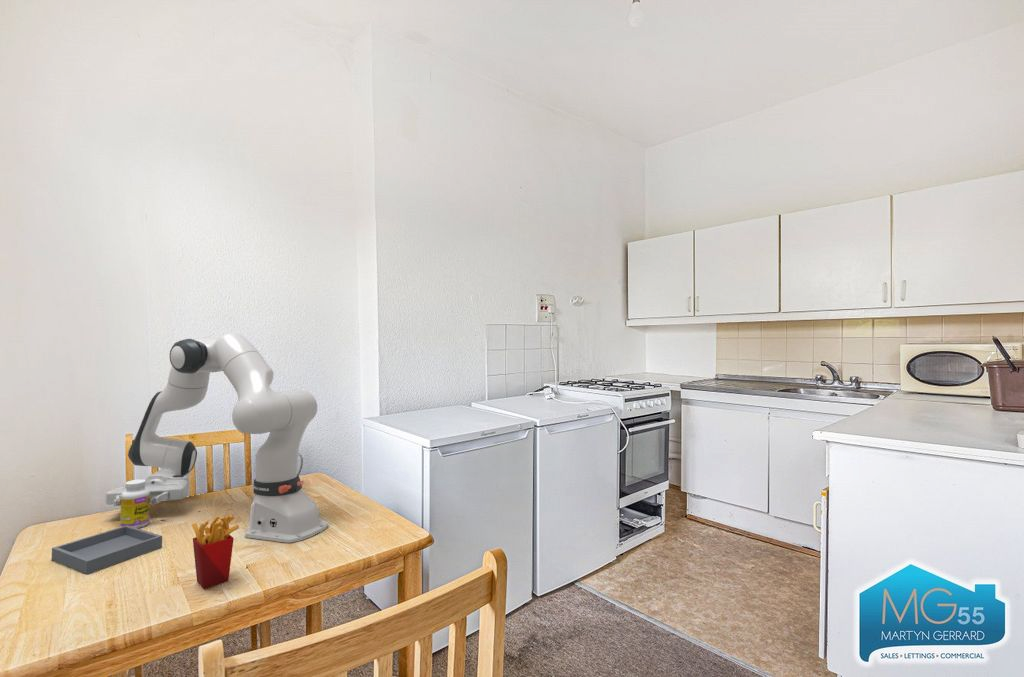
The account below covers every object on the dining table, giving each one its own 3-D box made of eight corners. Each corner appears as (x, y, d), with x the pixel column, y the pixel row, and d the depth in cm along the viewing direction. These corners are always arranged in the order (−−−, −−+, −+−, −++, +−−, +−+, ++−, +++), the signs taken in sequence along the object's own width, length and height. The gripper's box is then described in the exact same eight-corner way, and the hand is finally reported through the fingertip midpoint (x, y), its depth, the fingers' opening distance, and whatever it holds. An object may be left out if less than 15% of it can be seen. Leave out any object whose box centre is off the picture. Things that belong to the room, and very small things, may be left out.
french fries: (190, 581, 107) (191, 515, 107) (231, 569, 113) (232, 505, 113) (203, 596, 101) (203, 525, 101) (245, 582, 108) (245, 515, 108)
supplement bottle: (133, 531, 134) (133, 485, 134) (114, 529, 136) (114, 484, 136) (155, 522, 141) (155, 479, 141) (136, 520, 142) (137, 477, 142)
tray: (162, 547, 125) (162, 535, 125) (86, 574, 110) (86, 561, 110) (127, 536, 131) (127, 525, 131) (51, 560, 117) (51, 547, 117)
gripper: (119, 479, 149) (93, 493, 136) (193, 475, 154) (175, 488, 141) (118, 500, 149) (92, 515, 136) (193, 495, 154) (175, 509, 141)
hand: (135, 501), depth 138 cm, fingers open, 8 cm apart
